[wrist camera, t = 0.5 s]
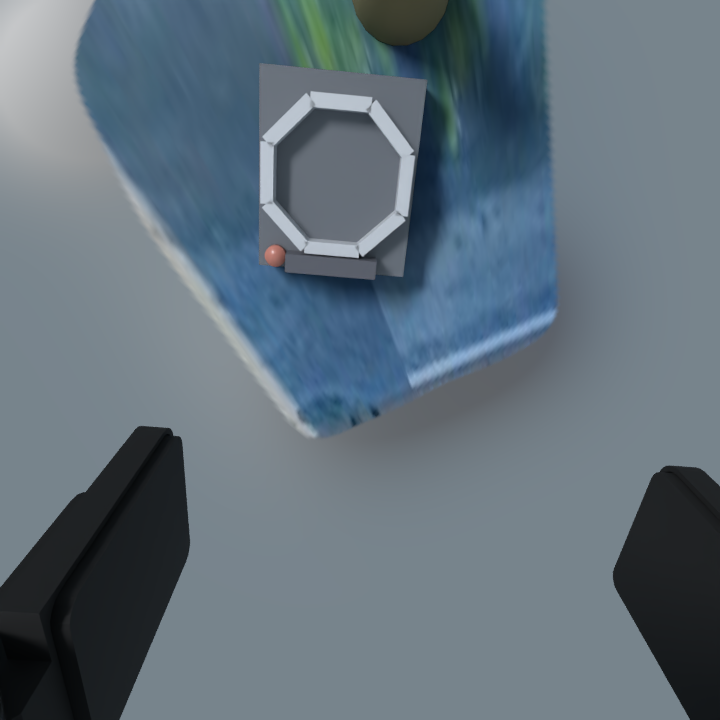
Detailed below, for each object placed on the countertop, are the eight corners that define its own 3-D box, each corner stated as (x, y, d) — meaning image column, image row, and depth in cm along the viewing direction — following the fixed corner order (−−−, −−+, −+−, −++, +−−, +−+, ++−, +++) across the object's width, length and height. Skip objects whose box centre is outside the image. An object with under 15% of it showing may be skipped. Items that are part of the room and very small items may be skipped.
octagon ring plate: (267, 69, 31) (254, 58, 27) (422, 85, 31) (430, 76, 27) (265, 257, 36) (254, 269, 32) (400, 268, 36) (404, 282, 32)
